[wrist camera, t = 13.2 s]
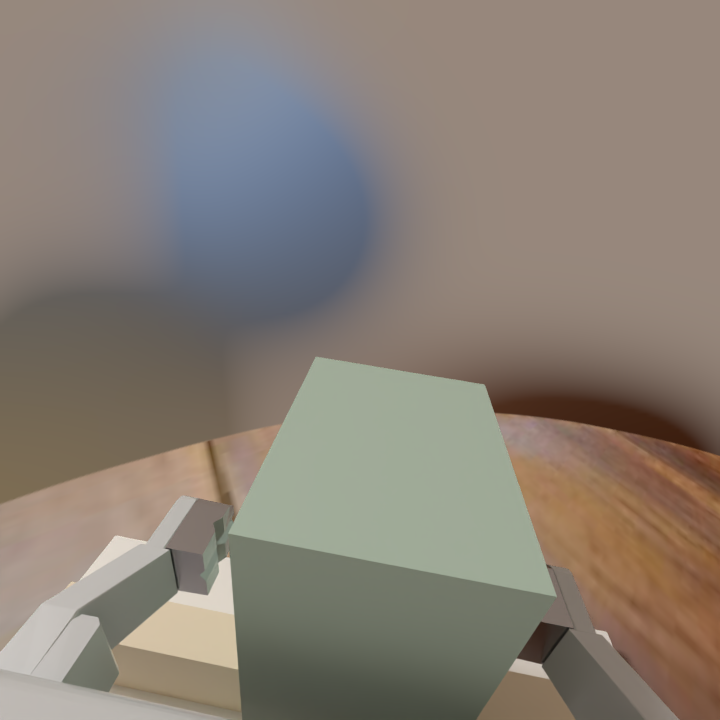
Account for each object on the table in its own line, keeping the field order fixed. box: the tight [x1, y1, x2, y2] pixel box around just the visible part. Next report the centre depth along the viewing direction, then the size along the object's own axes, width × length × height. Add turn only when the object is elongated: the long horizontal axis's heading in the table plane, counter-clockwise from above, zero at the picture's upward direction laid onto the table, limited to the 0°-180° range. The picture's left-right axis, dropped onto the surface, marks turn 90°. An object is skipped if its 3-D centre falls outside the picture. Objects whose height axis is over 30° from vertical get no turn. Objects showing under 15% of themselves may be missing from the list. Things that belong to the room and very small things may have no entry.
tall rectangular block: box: [228, 357, 557, 720], centre depth 12 cm, size 5×6×14 cm
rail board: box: [66, 536, 613, 720], centre depth 14 cm, size 26×10×5 cm, turn 83°
